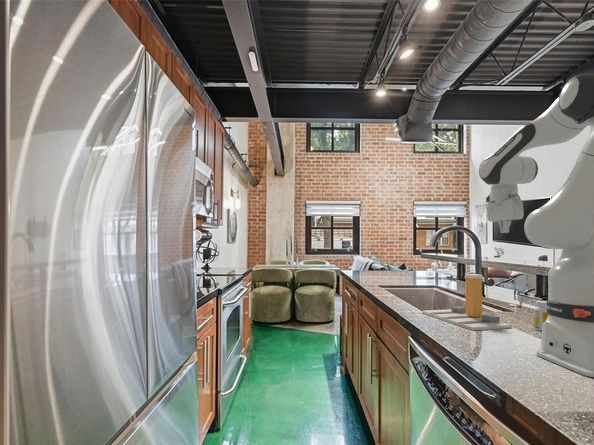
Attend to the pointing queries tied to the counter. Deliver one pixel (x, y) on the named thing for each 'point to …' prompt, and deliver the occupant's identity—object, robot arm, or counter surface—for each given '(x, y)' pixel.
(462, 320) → the panel
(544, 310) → the supplement bottle
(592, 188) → the robot arm
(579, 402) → the counter surface
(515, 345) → the counter surface
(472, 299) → the glass of beer
